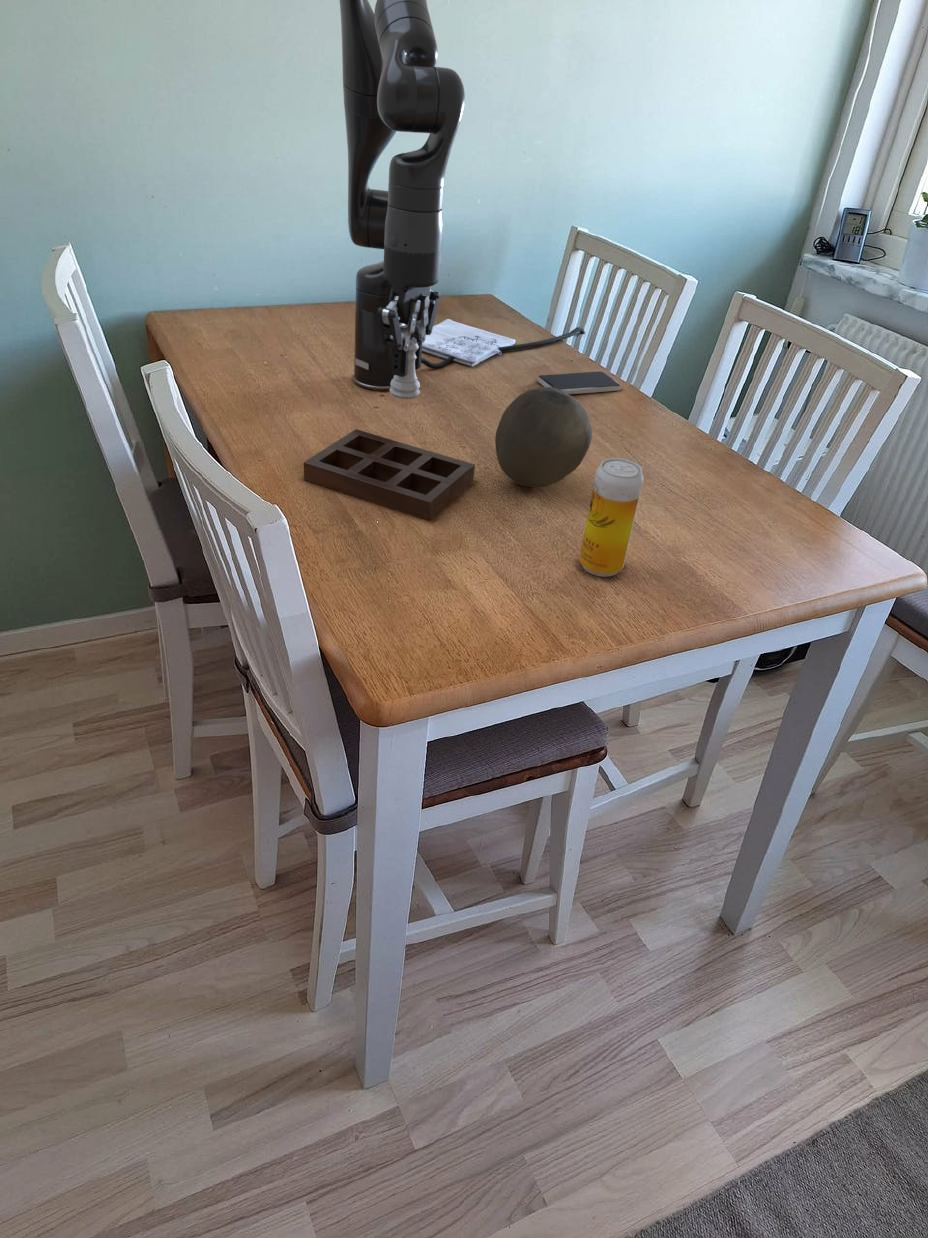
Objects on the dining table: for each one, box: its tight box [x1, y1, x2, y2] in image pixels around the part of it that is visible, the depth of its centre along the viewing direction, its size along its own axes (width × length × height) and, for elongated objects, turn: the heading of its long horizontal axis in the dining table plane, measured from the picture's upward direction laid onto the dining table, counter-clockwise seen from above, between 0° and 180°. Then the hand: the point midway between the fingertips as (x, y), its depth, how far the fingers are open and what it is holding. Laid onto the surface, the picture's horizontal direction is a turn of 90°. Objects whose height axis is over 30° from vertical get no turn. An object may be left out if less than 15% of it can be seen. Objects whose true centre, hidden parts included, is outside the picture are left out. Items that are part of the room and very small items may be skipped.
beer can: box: [579, 457, 644, 578], centre depth 118 cm, size 6×6×15 cm
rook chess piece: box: [388, 336, 421, 400], centre depth 127 cm, size 4×4×8 cm
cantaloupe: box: [494, 386, 593, 488], centre depth 136 cm, size 14×14×15 cm
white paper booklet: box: [422, 318, 516, 368], centre depth 189 cm, size 19×20×2 cm
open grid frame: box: [303, 428, 476, 521], centre depth 136 cm, size 15×21×3 cm
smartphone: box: [537, 371, 622, 395], centre depth 177 cm, size 8×1×15 cm
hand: (406, 370), depth 127 cm, fingers closed on rook chess piece, 3 cm apart
